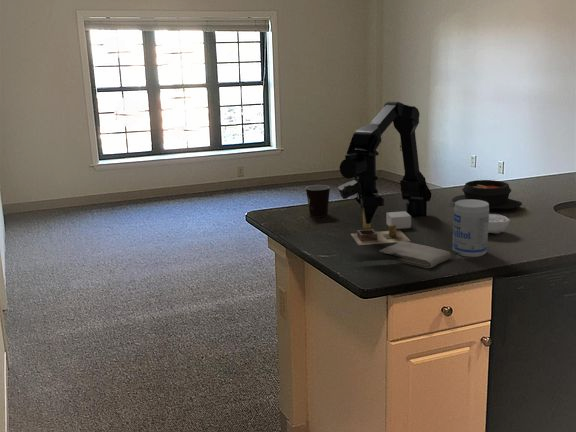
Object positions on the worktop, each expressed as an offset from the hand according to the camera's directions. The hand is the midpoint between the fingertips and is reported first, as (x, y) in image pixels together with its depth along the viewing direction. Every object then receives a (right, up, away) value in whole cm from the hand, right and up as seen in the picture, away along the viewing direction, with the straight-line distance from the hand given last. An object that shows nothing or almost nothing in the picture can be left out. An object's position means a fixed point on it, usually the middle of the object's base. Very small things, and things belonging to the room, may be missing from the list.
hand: (367, 222), depth 195 cm
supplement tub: (+28, -9, -12) cm, 32 cm away
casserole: (+48, +5, +36) cm, 60 cm away
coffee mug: (-13, +3, +37) cm, 39 cm away
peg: (0, -1, 0) cm, 2 cm away
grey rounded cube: (+12, -2, +13) cm, 18 cm away
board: (+4, -6, +2) cm, 7 cm away
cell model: (+39, -4, +5) cm, 39 cm away
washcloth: (+12, -10, -14) cm, 21 cm away
